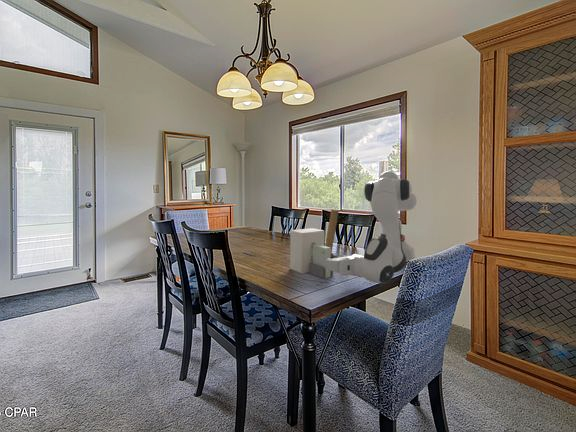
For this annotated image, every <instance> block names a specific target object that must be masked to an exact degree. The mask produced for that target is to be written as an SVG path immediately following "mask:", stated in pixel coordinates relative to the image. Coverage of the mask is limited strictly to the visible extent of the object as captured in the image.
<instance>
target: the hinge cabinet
mask: <svg viewBox="0 0 576 432" xmlns="http://www.w3.org/2000/svg"><path fill="white" fill-rule="evenodd" d="M289 235H290V238H289V239H290V241H289V242H290V243H289V244H290V245H289V247H290V248H289V249H290V250H289V251H290V252H289V253H290V255H289V256H290V257H289V259H290V265H289V266H290V267H289V269H290V270H291V271H295V272H297V273H300V274H306V273H308V274H311V275H314V276H316V277H318V278H321V279H325V277H324V267H321V266H319V265H316V264H313V245H315V244H319V245H323V246H325V230H323V229H317V228H314V227H313V228H312V227H311V228H300V229H292V230H290V234H289ZM333 276H334V272H333V271H331V277H333Z"/></svg>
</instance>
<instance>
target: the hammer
mask: <svg viewBox="0 0 576 432" xmlns="http://www.w3.org/2000/svg"><path fill="white" fill-rule="evenodd" d="M339 212H340V211H339V210H338V209H330V215H329V221H328V228H327V233H326V238H325V243H324V246H327V247H330V248H331V259H332V258H338V257H339V256H338V255H335V254H334V253H333V246H334V241H335V236H336V234H335V233H336V229H337V224H338V217H339Z"/></svg>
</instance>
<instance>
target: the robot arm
mask: <svg viewBox="0 0 576 432" xmlns="http://www.w3.org/2000/svg"><path fill="white" fill-rule="evenodd" d="M412 190H413V189H412V184H411V183H410V181H409V180H408V179H406V178H402V177H401V178H399V176H398V175H397V173H396V172H394V171H392V170H387V171H384V172H381V174H380V175H379V176H378V180H370V181H368V182H366V183H365V184H364V188H363V195H364V198H365V200H366V201H368V202H369V205H370V206H371V211H372V213H373V215H374V216H375V218H376V219H377V220H378V222H379V223H380V225H381V232H380V235H378V236H375V237H373V238H371V239H370V240H369V241H368V243H367V245H366V247H365V250H364V254H360V253H359V254H358V253H354V254H352V255H346V254H344V255H341V257H340V256H337V257H338V258H332V259H331V258H326V261H325V267H326V268H327V269H329V270H331V271H333V273H338V275H340V276H346V277H347V276H352V277H357V278H361V279H362V278H363V279H364V280H367V281H369V282H373V283H377V284H385V283H388V282H390V281H391V280H392V279H393V277H394V276H395V275H394V274H395V273H399V272H401V270H403V269H404V268H405V266H406V264H407V263H409V262H408V261H409V260H411V259H414V258H419V256H418V255H415V250H414V248H413V247H412V245H410V244H409V243H408V242H407V241H406V236H405V235H404V234H402V227H403V226H402V220H401V219H400V217H399V212H405V211H411V210H413V209H414V208H415V207H416V206H417V197H416V195H415V194H414V193H413V192H412Z"/></svg>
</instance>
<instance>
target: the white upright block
mask: <svg viewBox="0 0 576 432" xmlns="http://www.w3.org/2000/svg"><path fill="white" fill-rule="evenodd" d="M326 258H331V248H330V247H327V246H325V245H324V246H323V245H319V244H315V245H313V264H316V265H319V266H321V267H324V279H325V278H331V277H332V276H331V270H329V269H327V268H326V267H325V261H326Z"/></svg>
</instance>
